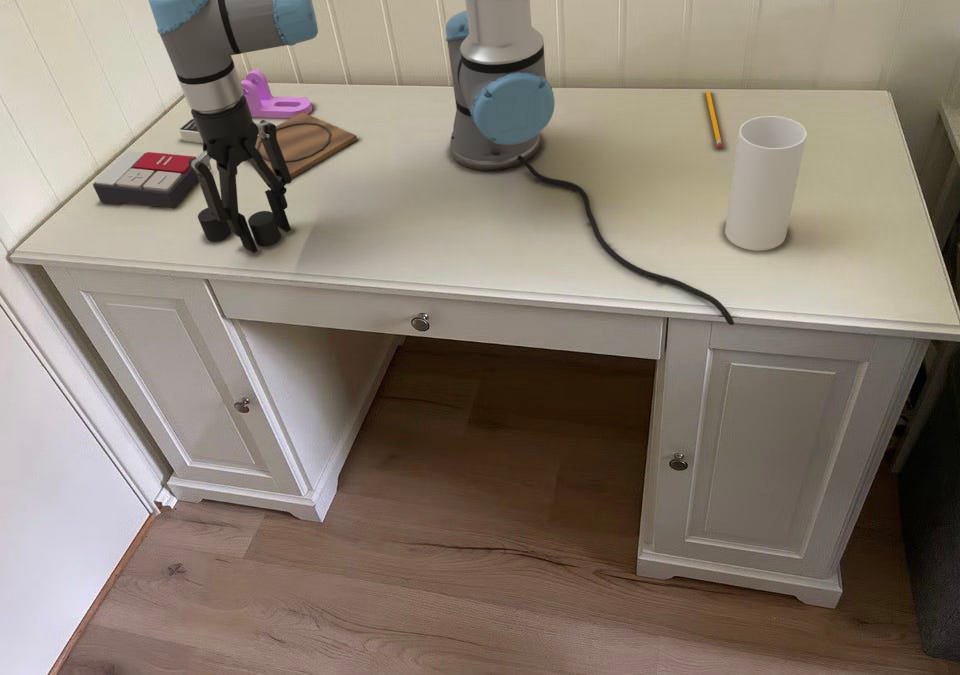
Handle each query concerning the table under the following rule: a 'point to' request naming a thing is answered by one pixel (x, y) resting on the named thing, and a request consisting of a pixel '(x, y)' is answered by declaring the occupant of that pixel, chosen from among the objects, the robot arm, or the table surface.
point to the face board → (306, 142)
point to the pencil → (714, 120)
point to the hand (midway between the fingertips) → (267, 238)
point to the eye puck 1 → (213, 227)
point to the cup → (764, 181)
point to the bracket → (271, 99)
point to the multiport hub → (190, 132)
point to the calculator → (147, 179)
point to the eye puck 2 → (264, 228)
